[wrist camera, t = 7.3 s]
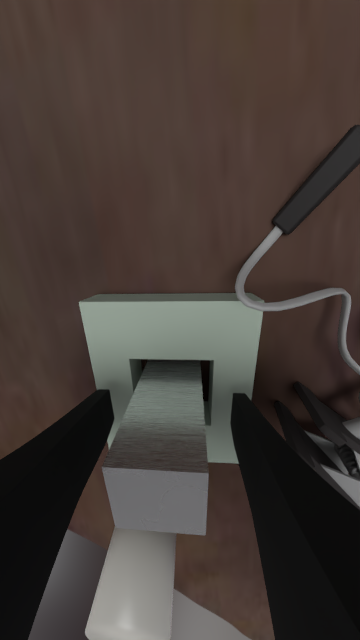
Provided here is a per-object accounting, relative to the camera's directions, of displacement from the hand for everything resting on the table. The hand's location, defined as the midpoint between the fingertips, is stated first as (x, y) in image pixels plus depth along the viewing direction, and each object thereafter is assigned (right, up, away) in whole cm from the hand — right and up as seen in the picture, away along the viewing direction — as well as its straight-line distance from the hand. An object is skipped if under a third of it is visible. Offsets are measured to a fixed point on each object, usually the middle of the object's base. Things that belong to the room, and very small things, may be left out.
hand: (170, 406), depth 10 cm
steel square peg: (0, +1, +3) cm, 3 cm away
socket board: (0, +1, +3) cm, 3 cm away
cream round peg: (-2, -11, +7) cm, 13 cm away
